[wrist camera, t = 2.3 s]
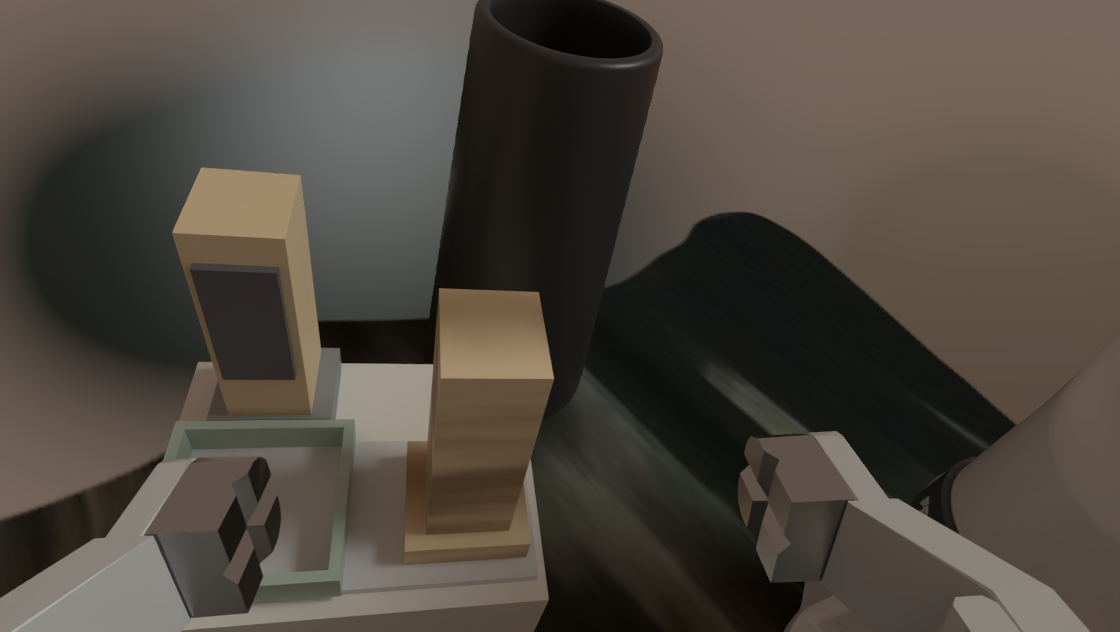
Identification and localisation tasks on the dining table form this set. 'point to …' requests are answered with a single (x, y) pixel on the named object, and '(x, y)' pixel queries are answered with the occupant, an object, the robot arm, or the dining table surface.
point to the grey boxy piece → (320, 436)
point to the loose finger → (478, 429)
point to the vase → (546, 162)
